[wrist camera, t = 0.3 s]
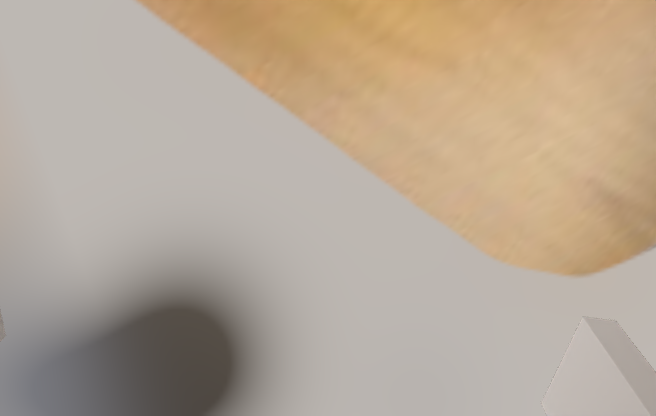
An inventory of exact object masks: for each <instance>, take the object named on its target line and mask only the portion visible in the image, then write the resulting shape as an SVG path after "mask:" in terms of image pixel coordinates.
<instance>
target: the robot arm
mask: <svg viewBox="0 0 656 416" xmlns="http://www.w3.org/2000/svg"><path fill="white" fill-rule="evenodd" d="M5 336H6V334H5V329H4V325H3V320H2V315H1V311H0V342H1V341H2V339H3V338H4V337H5ZM541 404H542V407H543V409H544V411H545V413H546V415H547V416H656V372H655V371H654V369H653V368H652V367H651V365H650V364H649V363H648V362H647V360H646V359H645V358H644V356H643V355H642V354H641V353H640V351H639V350H638V349H637V347H636V346H635V345H634V343H633V342H632V341H631V340H630V338H629V337H628V336H627V335H626V333H625V332H624V331H623V329H622V328H621V327H620V326H619V324H618V323H617V321H612V320H605V319H598V318H591V317H582V319H581V321H580V323H579V325H578V327H577V329H576V332H575V333H574V336H573V338H572V340H571V342H570V344H569V346H568V348H567V350H566V352H565V354H564V356H563V359H562V360H561V363H560V365H559V367H558V369H557V371H556V373H555V375H554V377H553V379H552V381H551V383H550V386H549V388H548V390H547V392H546V394H545V396H544V398H543V400H542V402H541Z"/></svg>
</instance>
